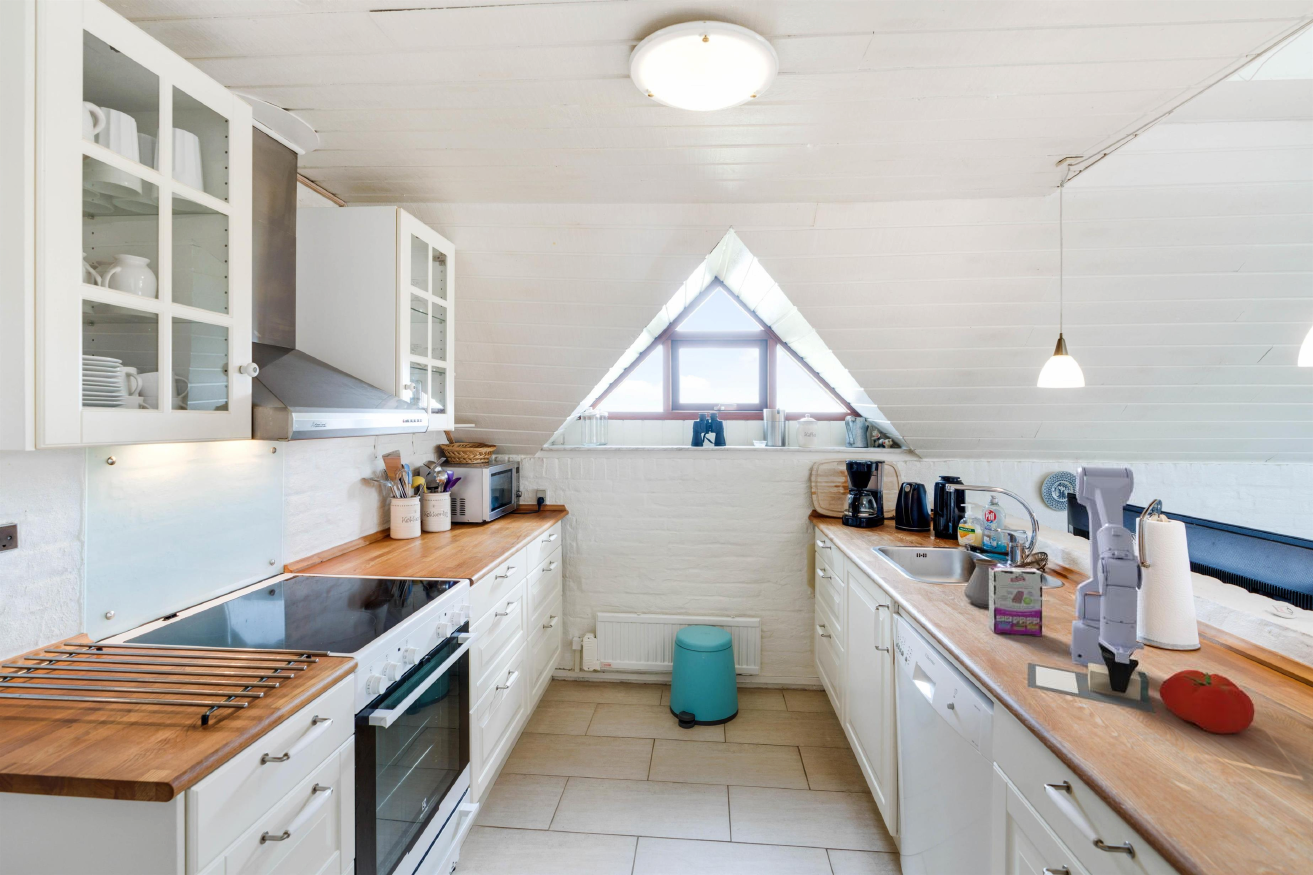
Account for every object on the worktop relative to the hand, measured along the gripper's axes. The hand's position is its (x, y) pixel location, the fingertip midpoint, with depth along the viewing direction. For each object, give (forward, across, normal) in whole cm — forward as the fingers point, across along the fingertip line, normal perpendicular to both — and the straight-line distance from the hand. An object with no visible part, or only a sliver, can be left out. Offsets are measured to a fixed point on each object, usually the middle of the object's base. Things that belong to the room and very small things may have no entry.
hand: (1116, 686), depth 116 cm
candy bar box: (+2, +29, +18) cm, 34 cm away
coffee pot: (+2, +53, +21) cm, 57 cm away
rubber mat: (+1, 0, +5) cm, 5 cm away
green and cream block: (+1, 0, 0) cm, 1 cm away
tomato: (+2, -6, -12) cm, 14 cm away
